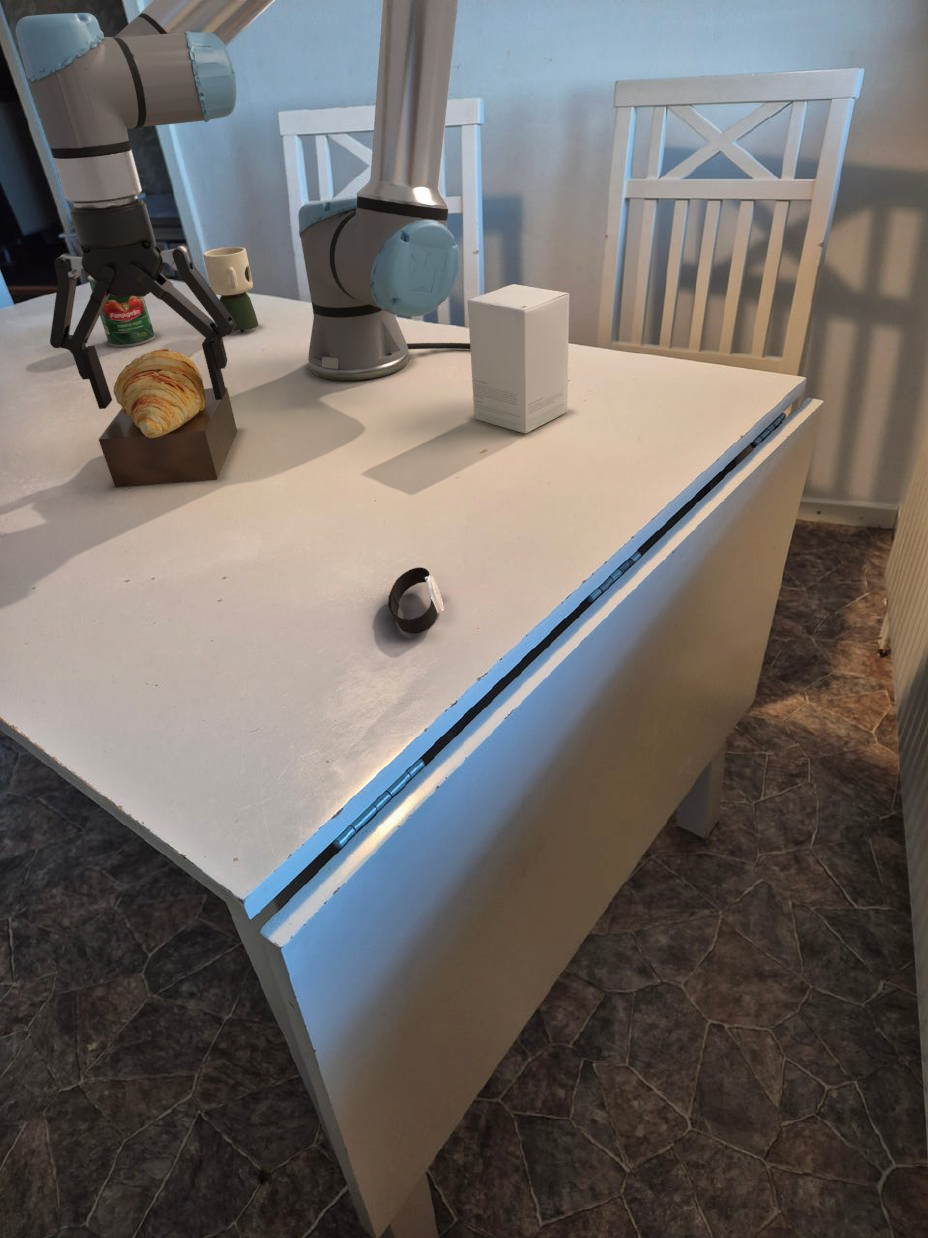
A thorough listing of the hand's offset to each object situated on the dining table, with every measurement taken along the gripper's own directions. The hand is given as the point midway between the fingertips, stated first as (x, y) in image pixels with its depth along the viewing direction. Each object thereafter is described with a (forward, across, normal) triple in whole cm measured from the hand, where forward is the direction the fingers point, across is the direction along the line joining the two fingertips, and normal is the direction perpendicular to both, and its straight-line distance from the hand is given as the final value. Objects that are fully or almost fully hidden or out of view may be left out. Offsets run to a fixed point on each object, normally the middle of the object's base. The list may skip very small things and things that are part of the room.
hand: (163, 400), depth 96 cm
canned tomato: (+8, +20, -52) cm, 56 cm away
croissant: (+2, 0, 0) cm, 2 cm away
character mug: (+8, +1, -53) cm, 54 cm away
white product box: (+8, -43, -5) cm, 44 cm away
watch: (+8, -29, +37) cm, 48 cm away
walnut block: (+7, 0, 0) cm, 7 cm away
